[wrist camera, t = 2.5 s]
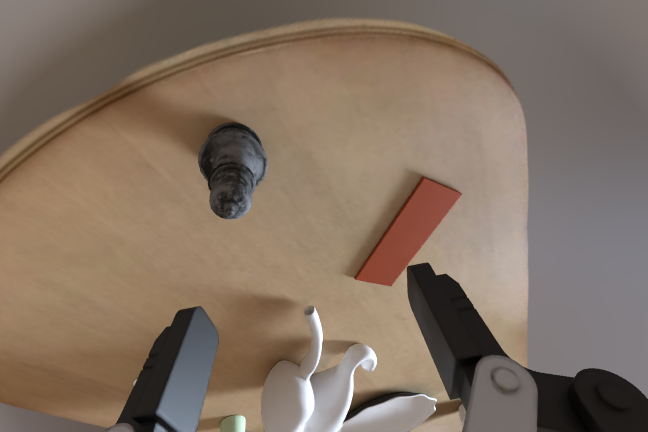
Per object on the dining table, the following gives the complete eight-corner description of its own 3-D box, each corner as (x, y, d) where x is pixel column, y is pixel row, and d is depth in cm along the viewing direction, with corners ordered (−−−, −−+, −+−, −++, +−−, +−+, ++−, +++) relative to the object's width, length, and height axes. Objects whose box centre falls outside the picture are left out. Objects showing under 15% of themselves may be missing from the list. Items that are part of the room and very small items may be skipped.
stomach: (362, 342, 61) (321, 267, 49) (403, 393, 50) (363, 314, 38) (273, 414, 56) (203, 350, 44) (297, 489, 45) (212, 432, 33)
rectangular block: (390, 284, 45) (391, 286, 45) (354, 277, 42) (355, 279, 42) (460, 192, 38) (462, 194, 37) (422, 176, 35) (424, 178, 34)
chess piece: (277, 151, 29) (293, 215, 19) (236, 186, 30) (232, 263, 20) (233, 106, 25) (226, 154, 16) (189, 147, 27) (157, 216, 17)
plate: (320, 413, 67) (322, 424, 65) (433, 372, 69) (439, 382, 67) (340, 448, 84) (342, 458, 82) (430, 415, 86) (434, 424, 84)
